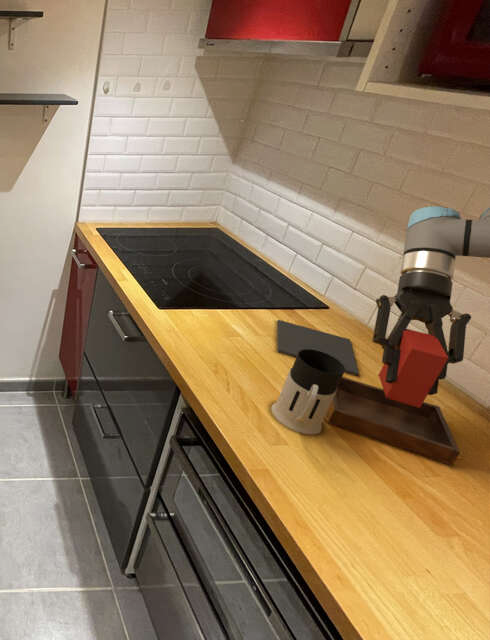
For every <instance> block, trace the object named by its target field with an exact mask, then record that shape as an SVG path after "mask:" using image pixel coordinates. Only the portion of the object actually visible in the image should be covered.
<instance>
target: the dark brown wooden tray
mask: <svg viewBox="0 0 490 640" xmlns="http://www.w3.org/2000/svg"><path fill="white" fill-rule="evenodd" d="M326 419H327V423H328V424H331V425H334V426H337V427H340V428H341V429H342V428H343V429H345V430H348V431H351V432H353V433H357V434H359V435H362V436H365V437H368V438H371V439H374V440H377V441H379V442H382V443H385V444H388V445H391V446H393V447H397V448H399V449H402V450H405V451H408V452H410V453H413V454H416V455H419V456H422V457H425V458H428V459H430V460H434V461H436V462H439V463H442V464H444V465H447V466H450V467H452V465H453V464H454V463H455V461H456V459H457V458H458V457H459V455H460V454H461V451H460V448H459V446H458V444H457V442H456V440H455V437H454V436H453V433H452V431H451V429H450V427H449V424H448V422H447V420H446V418H445V416H444V414H443V411H442V409H441V407H440V406H439V405H435V404H433V403H429V402H426V401H424V402H423V403H422V405H421V407H420V408H418V407H415V406H412V405H409V404H405V403H402V402H399V401H396V400H392V399H389V398H386V396H385V393H384V390H383V388H380V387H377V386H375V385H371V384H367V383H364V382H361V381H357V380H354V379H351V378H348V377H344V376H342V378H341V380H340V382H339V384H338V389H337V391H336V393H335V396H334V398H333V400H332V402H331V404H330V406H329V408H328V410H327V412H326Z"/></svg>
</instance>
